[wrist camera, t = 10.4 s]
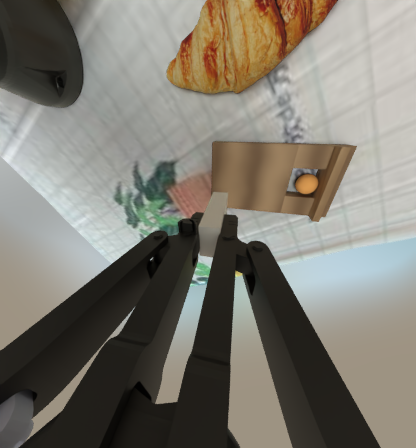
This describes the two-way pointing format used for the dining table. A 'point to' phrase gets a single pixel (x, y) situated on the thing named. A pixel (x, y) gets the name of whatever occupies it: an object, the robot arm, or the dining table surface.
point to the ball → (306, 183)
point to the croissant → (242, 42)
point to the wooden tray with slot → (278, 175)
